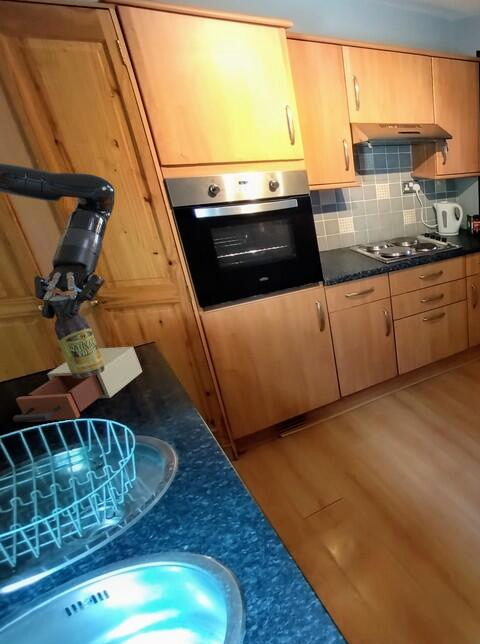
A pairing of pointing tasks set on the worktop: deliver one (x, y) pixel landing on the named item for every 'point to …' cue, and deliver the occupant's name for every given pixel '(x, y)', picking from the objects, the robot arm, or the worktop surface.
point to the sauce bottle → (76, 341)
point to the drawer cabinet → (111, 369)
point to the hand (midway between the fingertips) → (58, 316)
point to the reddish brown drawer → (59, 399)
